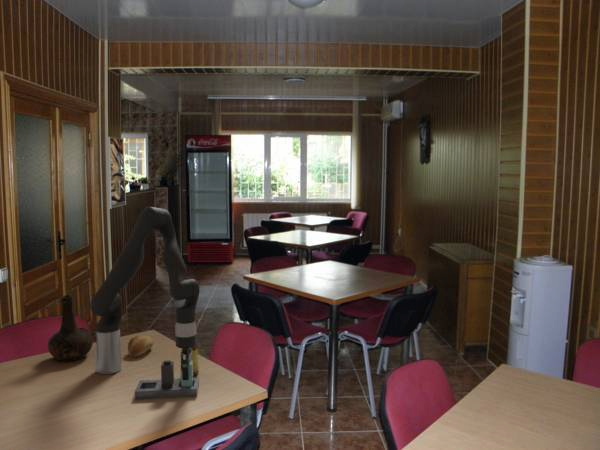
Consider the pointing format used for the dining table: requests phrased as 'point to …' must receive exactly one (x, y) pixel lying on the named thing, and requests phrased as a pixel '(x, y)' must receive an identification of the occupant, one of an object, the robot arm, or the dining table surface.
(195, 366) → the sauce bottle
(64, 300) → the glass bottle
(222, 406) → the dining table surface
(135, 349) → the bread roll
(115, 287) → the robot arm
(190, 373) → the plug
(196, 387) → the gray slotted rack
